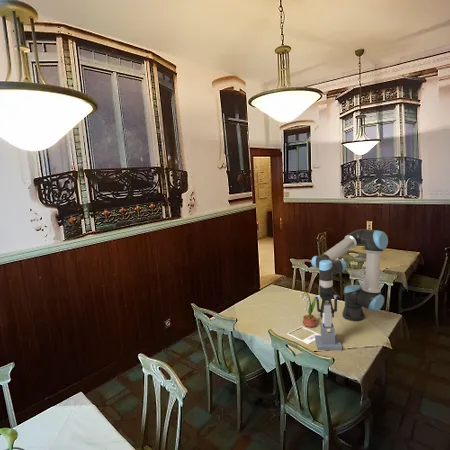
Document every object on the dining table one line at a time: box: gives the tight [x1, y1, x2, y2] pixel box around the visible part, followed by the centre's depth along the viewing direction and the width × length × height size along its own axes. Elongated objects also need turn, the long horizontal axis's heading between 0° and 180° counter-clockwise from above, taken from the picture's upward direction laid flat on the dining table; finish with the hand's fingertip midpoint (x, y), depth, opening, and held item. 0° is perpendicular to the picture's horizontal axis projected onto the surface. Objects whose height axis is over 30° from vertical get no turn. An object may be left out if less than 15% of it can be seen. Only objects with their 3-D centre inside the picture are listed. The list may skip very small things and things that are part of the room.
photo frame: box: [286, 325, 321, 345], centre depth 212 cm, size 15×1×18 cm
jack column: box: [323, 301, 331, 328], centre depth 197 cm, size 4×4×25 cm
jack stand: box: [315, 322, 343, 351], centre depth 198 cm, size 14×14×12 cm
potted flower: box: [299, 292, 318, 328], centre depth 223 cm, size 12×10×25 cm
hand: (327, 322), depth 197 cm, fingers closed on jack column, 4 cm apart
